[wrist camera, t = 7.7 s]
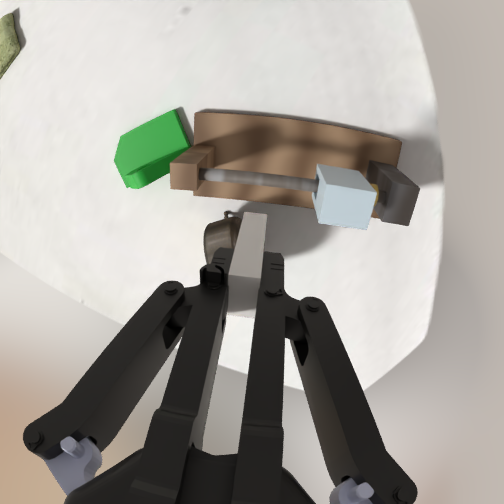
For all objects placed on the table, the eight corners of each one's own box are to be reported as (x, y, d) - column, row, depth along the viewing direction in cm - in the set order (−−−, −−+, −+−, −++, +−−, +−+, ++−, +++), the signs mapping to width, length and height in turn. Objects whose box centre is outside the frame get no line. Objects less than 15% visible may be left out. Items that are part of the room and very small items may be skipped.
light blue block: (311, 196, 33) (318, 223, 27) (317, 163, 30) (326, 184, 25) (352, 202, 32) (366, 230, 27) (358, 171, 30) (377, 192, 24)
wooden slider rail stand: (195, 192, 41) (172, 225, 32) (197, 112, 35) (169, 121, 26) (380, 215, 40) (403, 252, 31) (398, 140, 34) (433, 159, 25)
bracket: (176, 109, 35) (157, 114, 29) (196, 157, 39) (181, 171, 33) (111, 142, 38) (86, 153, 32) (130, 184, 42) (109, 202, 36)
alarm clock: (213, 208, 42) (180, 273, 29) (247, 198, 41) (229, 262, 27) (238, 266, 48) (221, 341, 34) (269, 258, 46) (263, 336, 33)
